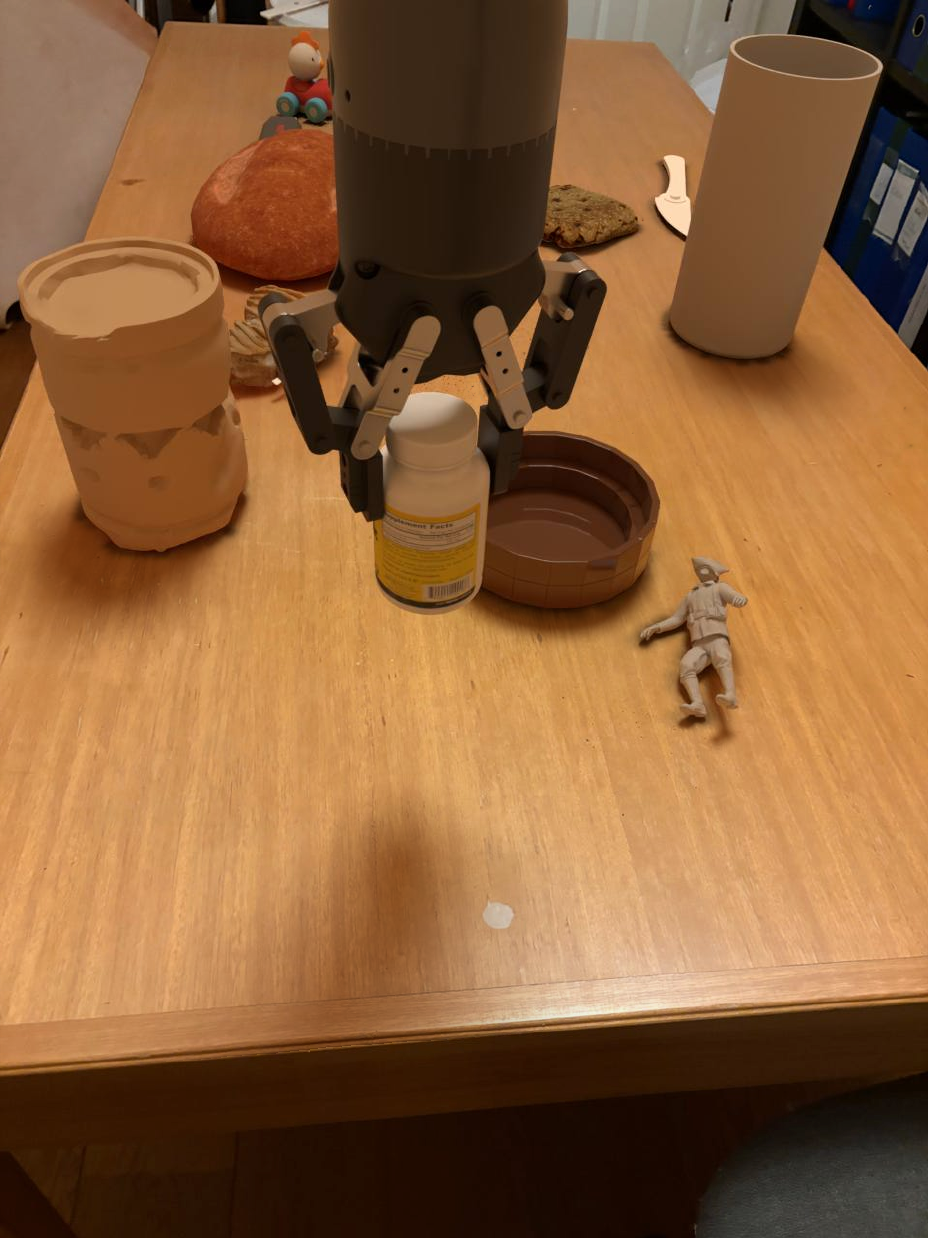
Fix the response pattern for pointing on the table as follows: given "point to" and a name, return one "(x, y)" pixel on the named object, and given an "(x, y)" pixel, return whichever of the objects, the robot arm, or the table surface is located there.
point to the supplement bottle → (432, 506)
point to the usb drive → (278, 126)
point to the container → (140, 385)
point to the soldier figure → (705, 633)
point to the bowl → (569, 523)
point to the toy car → (305, 82)
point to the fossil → (259, 343)
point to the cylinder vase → (769, 189)
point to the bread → (272, 208)
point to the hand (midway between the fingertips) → (431, 495)
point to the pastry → (585, 217)
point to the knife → (675, 195)
